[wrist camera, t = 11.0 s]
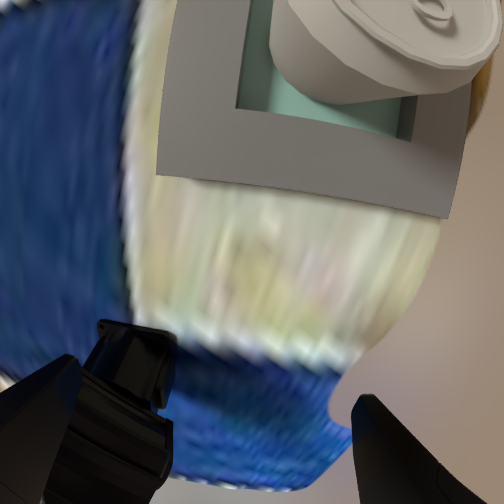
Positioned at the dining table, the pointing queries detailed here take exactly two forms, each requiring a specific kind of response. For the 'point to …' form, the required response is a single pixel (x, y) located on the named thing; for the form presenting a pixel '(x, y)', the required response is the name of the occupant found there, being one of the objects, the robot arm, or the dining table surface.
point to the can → (381, 46)
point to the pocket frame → (297, 121)
